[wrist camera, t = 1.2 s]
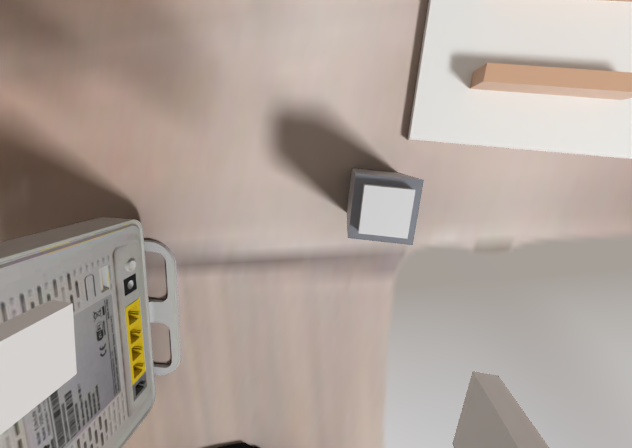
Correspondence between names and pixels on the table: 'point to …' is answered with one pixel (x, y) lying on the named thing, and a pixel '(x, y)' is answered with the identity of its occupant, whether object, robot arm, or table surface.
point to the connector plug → (383, 206)
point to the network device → (92, 328)
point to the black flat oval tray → (238, 446)
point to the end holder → (527, 76)
